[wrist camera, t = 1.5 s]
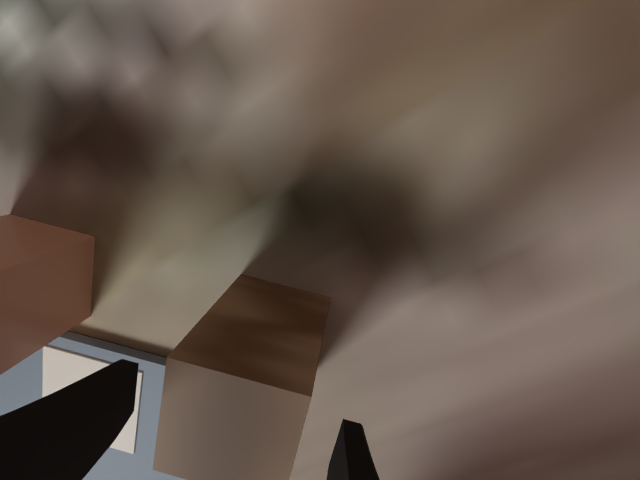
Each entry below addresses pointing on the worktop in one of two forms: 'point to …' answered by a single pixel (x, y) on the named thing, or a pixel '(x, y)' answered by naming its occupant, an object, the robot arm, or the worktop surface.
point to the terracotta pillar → (41, 285)
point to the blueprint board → (78, 362)
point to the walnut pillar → (241, 385)
